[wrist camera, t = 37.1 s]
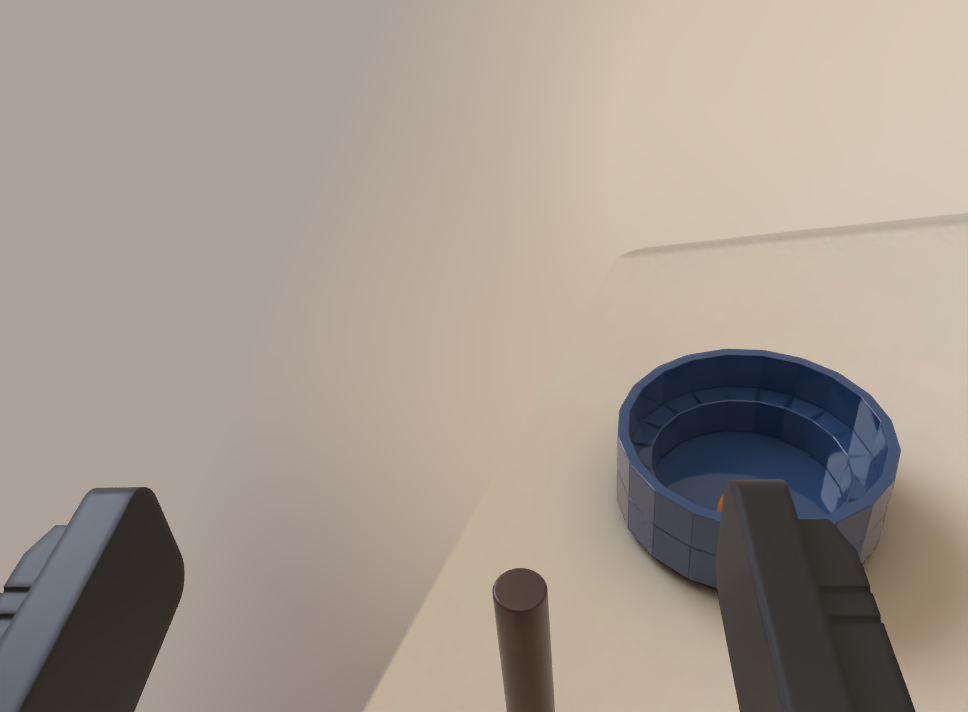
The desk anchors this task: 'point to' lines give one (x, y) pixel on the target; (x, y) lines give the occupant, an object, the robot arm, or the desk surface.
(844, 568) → the robot arm
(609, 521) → the desk surface
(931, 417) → the desk surface
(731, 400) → the bowl
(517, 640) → the stick
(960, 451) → the desk surface
